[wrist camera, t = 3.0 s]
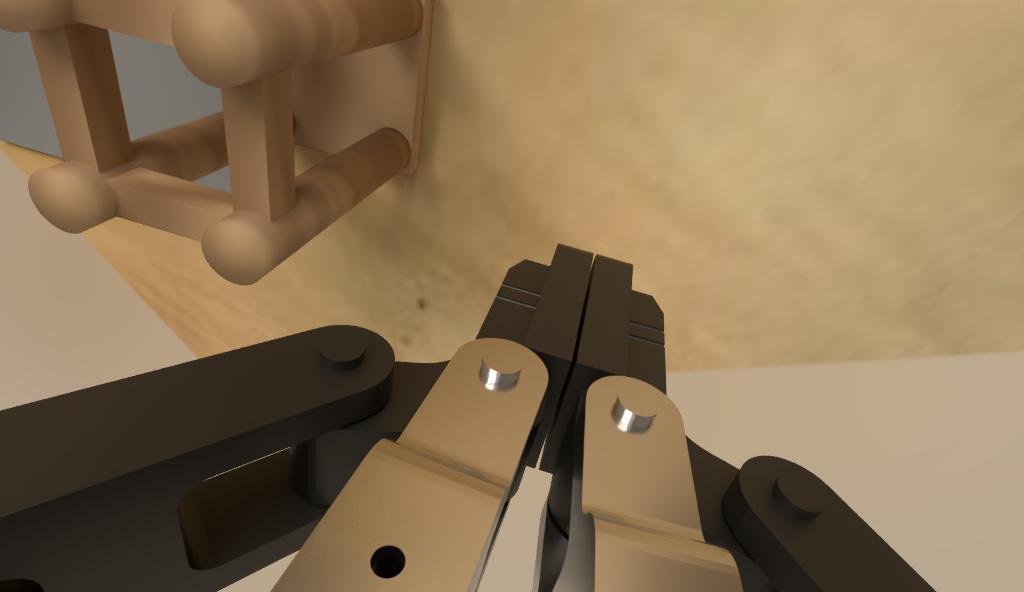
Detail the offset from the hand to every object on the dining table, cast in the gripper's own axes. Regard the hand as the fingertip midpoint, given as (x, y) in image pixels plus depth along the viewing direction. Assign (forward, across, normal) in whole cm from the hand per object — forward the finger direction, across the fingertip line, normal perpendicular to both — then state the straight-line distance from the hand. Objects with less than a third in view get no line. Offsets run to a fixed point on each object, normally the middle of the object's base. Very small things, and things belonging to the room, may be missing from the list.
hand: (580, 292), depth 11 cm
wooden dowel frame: (+12, +11, 0) cm, 17 cm away
